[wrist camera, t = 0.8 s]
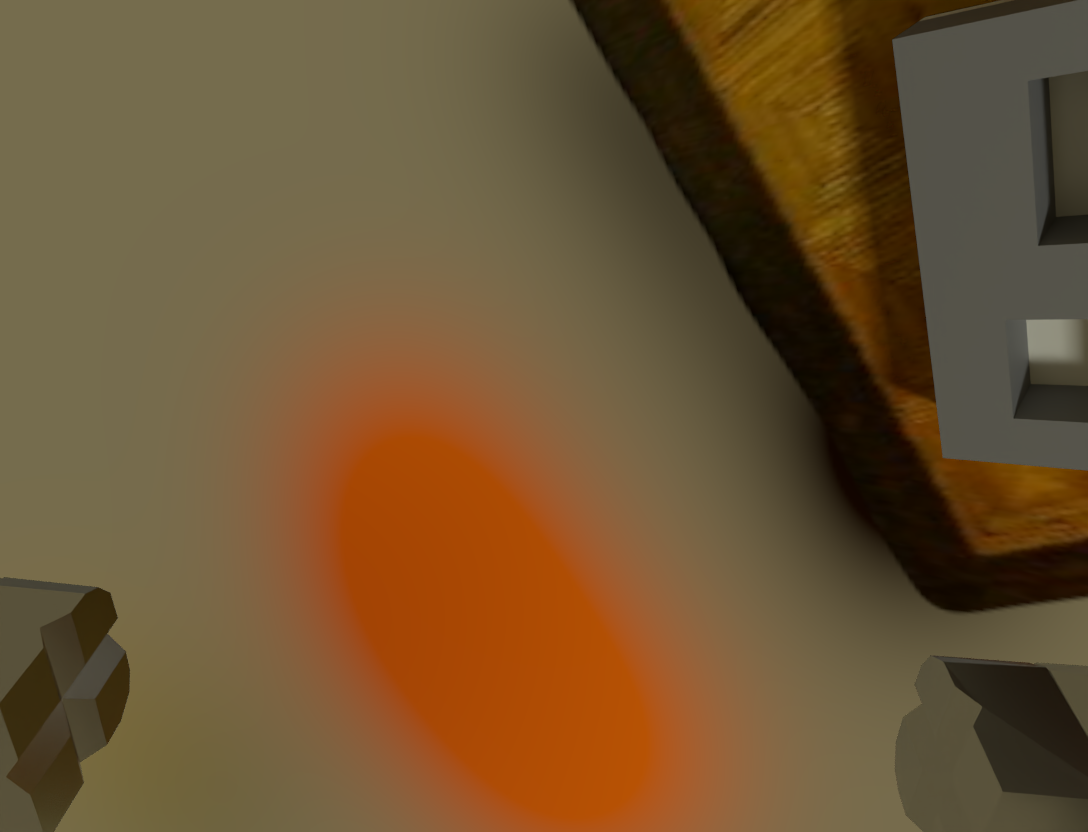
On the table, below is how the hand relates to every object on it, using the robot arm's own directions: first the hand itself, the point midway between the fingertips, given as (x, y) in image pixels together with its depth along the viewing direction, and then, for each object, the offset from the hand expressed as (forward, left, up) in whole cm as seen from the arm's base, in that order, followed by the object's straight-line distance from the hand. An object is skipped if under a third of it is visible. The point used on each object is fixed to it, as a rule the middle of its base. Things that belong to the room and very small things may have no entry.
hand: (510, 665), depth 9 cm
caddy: (+4, +13, -47) cm, 49 cm away
